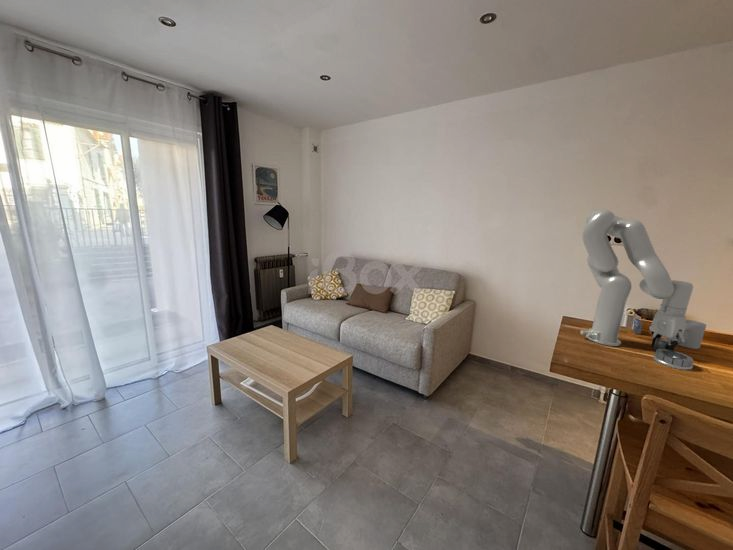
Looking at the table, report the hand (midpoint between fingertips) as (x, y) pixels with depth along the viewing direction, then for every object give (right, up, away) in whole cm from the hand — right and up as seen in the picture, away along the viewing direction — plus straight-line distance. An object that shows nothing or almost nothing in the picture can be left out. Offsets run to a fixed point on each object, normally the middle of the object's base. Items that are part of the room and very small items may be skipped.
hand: (661, 349), depth 127 cm
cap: (0, 0, 0) cm, 1 cm away
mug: (+17, 0, +7) cm, 19 cm away
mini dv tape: (+8, +3, +21) cm, 23 cm away
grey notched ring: (-6, -2, -10) cm, 12 cm away
